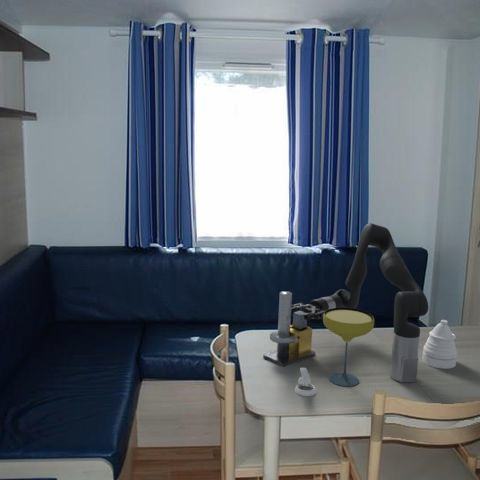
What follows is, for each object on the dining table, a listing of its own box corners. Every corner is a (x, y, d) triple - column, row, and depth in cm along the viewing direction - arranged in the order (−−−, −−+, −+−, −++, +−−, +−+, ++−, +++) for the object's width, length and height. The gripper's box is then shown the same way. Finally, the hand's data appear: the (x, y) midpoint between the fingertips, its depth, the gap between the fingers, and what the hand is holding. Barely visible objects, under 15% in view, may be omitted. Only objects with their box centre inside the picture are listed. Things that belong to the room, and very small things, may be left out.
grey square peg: (298, 352, 222) (301, 315, 219) (291, 349, 225) (293, 312, 222) (304, 350, 224) (307, 313, 221) (297, 347, 227) (299, 310, 224)
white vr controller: (289, 385, 184) (289, 367, 189) (296, 403, 192) (295, 385, 197) (311, 383, 182) (310, 365, 187) (317, 401, 191) (316, 383, 195)
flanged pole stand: (283, 366, 211) (286, 299, 206) (263, 357, 219) (265, 292, 214) (315, 354, 224) (319, 290, 218) (295, 346, 232) (298, 284, 226)
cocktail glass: (373, 375, 206) (378, 312, 201) (363, 395, 190) (369, 327, 185) (326, 366, 213) (330, 304, 208) (313, 384, 197) (317, 318, 192)
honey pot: (458, 370, 213) (463, 326, 210) (424, 366, 216) (428, 323, 212) (452, 357, 225) (457, 315, 222) (420, 354, 228) (424, 312, 224)
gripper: (310, 294, 235) (284, 301, 225) (336, 302, 225) (310, 310, 214) (309, 310, 237) (283, 318, 226) (335, 319, 227) (309, 328, 216)
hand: (296, 314), depth 220 cm, fingers open, 8 cm apart
